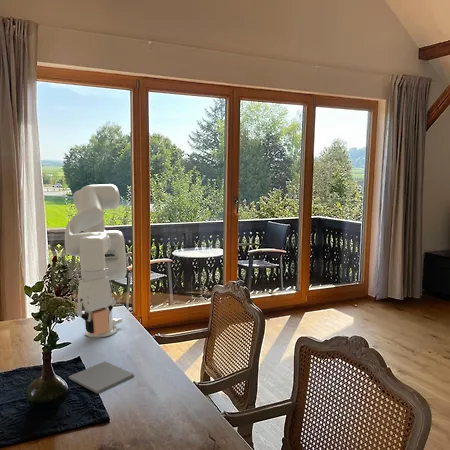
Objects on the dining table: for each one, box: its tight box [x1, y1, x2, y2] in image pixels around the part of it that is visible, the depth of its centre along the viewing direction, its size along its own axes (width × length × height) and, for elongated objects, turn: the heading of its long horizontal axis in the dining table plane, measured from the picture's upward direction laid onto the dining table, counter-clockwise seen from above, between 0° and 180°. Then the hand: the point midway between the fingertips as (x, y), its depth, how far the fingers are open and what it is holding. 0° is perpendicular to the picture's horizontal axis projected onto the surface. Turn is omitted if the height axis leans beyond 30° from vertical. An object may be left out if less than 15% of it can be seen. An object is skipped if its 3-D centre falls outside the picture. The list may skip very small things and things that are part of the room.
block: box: [88, 308, 109, 335], centre depth 145 cm, size 5×5×7 cm
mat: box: [68, 361, 135, 394], centre depth 148 cm, size 14×16×1 cm
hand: (97, 328), depth 145 cm, fingers closed on block, 5 cm apart
